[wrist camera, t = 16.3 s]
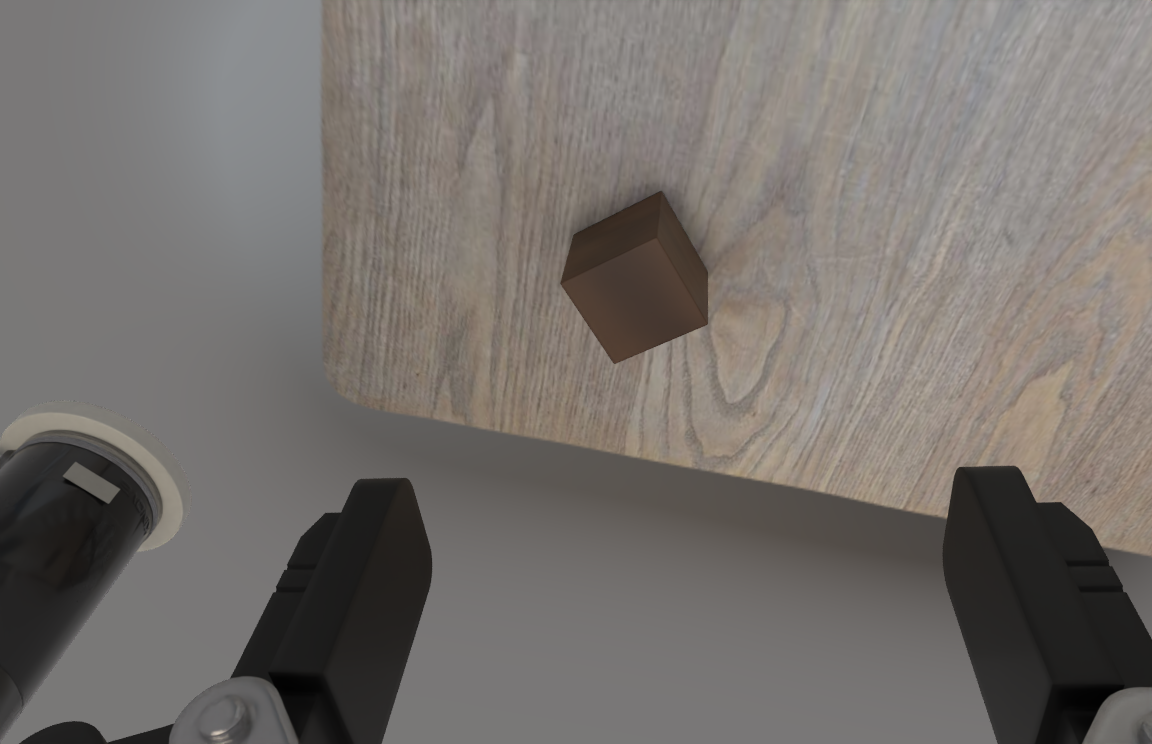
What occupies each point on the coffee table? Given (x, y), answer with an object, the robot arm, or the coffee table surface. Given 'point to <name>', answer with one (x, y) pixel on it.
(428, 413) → the coffee table surface
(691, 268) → the walnut block
